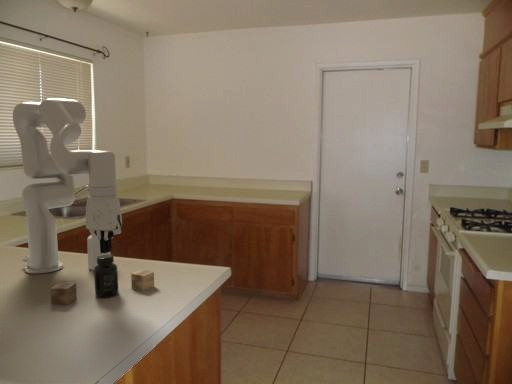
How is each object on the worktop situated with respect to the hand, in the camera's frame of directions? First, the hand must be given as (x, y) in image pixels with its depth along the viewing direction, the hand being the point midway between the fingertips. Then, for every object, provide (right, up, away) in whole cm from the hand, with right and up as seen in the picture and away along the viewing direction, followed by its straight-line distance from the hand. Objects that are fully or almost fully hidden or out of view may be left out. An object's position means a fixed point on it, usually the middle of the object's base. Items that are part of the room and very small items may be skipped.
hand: (106, 252), depth 127 cm
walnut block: (-11, -14, -4) cm, 18 cm away
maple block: (+9, -13, +8) cm, 18 cm away
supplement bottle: (0, -14, +2) cm, 14 cm away
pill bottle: (-13, -10, +29) cm, 33 cm away
